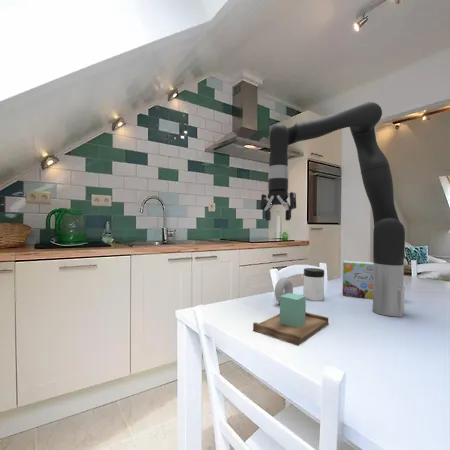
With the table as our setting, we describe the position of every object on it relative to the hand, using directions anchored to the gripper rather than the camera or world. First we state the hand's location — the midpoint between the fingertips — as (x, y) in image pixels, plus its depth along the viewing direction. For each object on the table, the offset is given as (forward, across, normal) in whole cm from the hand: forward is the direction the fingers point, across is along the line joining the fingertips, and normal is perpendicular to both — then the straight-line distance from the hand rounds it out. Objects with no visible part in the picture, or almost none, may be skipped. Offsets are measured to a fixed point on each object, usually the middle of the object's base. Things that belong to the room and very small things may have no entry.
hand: (277, 220), depth 105 cm
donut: (+32, -2, -2) cm, 32 cm away
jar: (+32, -7, -18) cm, 38 cm away
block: (+31, -16, +18) cm, 39 cm away
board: (+32, -16, +18) cm, 40 cm away
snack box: (+32, -24, -36) cm, 54 cm away
